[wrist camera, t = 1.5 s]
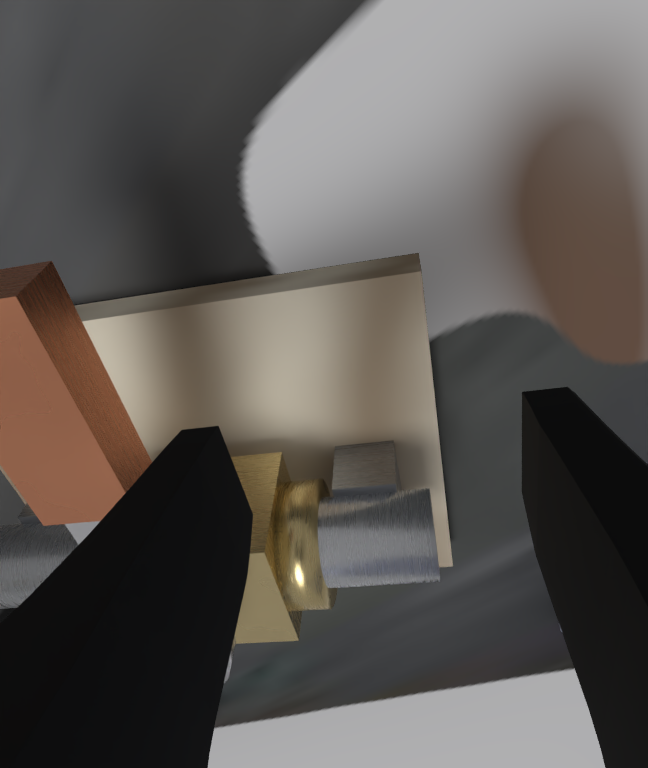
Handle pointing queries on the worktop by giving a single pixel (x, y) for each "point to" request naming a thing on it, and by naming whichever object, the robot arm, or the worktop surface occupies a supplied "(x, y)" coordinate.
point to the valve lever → (60, 408)
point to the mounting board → (284, 368)
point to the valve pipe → (284, 539)
